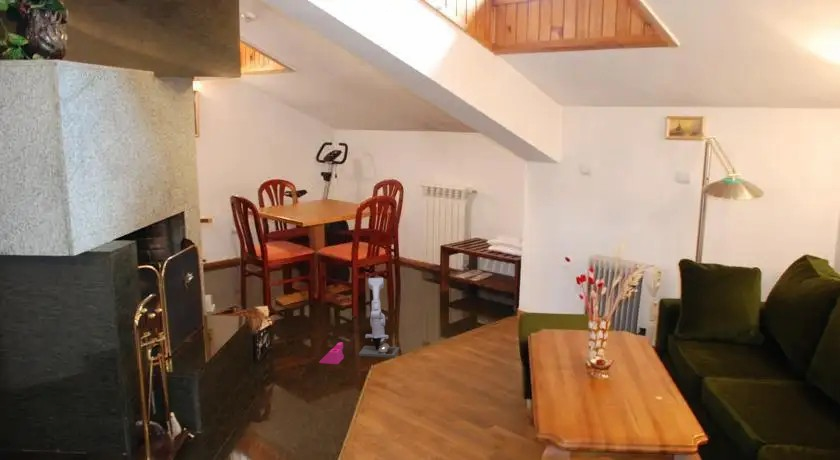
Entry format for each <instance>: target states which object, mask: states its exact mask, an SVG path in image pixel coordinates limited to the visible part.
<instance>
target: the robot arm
mask: <svg viewBox="0 0 840 460" xmlns="http://www.w3.org/2000/svg"><path fill="white" fill-rule="evenodd" d="M367 282H368V288H369V289H370V290H371V291H372V300H371V311H370V316H369V317H370V319H369V321H370V323H369V324H370V327H371V333H366V334H365V339H369V338H370V339H371V342H372V343H373V344H374V346H375V347H376V349H377V350H378V349H379V346H380V344H381V342H383V343H384V340H385V339H386V340H388V339H389V335H388V334H386V333H385V326H386V316H385V313H383V312H382V309H381V306H382V305H381V290H382V289H384V285H385V284H384V278H383V277H369V278H368V281H367Z"/></svg>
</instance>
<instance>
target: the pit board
mask: <svg viewBox="0 0 840 460" xmlns="http://www.w3.org/2000/svg"><path fill="white" fill-rule="evenodd" d="M381 346H382V345H379V349H380V347H381ZM379 349H378V350H379ZM378 350H377V349H376V347H375V345H364V346H363V347H362V349H361V350H360V352H359V353H358V356H359V357H376V358H394V359H395V358H396V355H397V354H398V353H399V351H400V347H399V346H389V349H388V351H392V353H386V354H379V353H378Z"/></svg>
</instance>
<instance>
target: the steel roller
mask: <svg viewBox="0 0 840 460" xmlns="http://www.w3.org/2000/svg"><path fill="white" fill-rule="evenodd" d="M380 346H381V347H380V349H379V350H378V353H379V354H387V352H388V351H389V350H388V349H389V347H390V345H389V343H386V342H383V343H382V345H380Z"/></svg>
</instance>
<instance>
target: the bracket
mask: <svg viewBox="0 0 840 460" xmlns="http://www.w3.org/2000/svg"><path fill="white" fill-rule="evenodd" d="M343 349H344V342H343V341H342V342H338V343H336V345H335V346H334V347H333V348H331V349H330V350H329V351H328V352H327V353H326V354H325V355H324V357H322V358H321V359H320V361H319V362H318V363H320V364H330V365H339V364H340V363H341V362H342V360H344V358H345V356H344V354H343Z"/></svg>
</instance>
